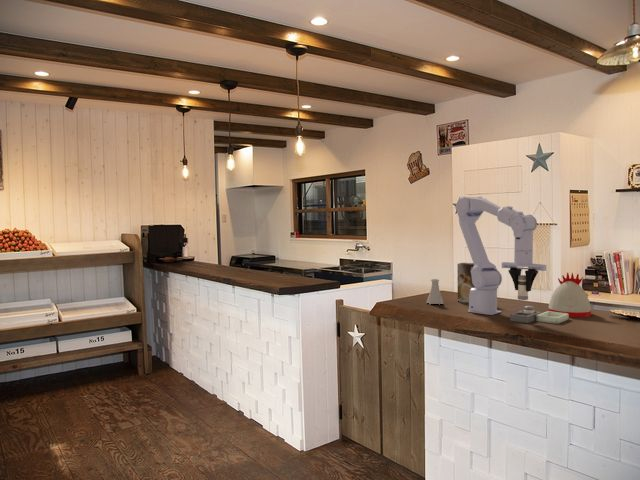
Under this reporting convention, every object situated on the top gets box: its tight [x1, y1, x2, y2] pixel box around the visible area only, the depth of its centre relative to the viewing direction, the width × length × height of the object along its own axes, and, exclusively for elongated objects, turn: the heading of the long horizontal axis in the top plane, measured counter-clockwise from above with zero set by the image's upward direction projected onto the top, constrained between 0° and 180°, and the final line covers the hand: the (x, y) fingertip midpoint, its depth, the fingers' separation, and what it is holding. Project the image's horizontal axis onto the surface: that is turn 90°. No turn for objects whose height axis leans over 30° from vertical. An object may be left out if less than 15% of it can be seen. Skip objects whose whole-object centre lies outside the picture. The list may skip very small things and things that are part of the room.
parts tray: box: [535, 310, 570, 325], centre depth 169 cm, size 7×10×2 cm
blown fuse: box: [517, 274, 529, 301], centre depth 169 cm, size 3×3×8 cm
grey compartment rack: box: [509, 305, 542, 324], centre depth 171 cm, size 6×11×4 cm, turn 134°
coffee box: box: [456, 262, 475, 304], centre depth 206 cm, size 9×6×16 cm
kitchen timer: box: [547, 272, 592, 318], centre depth 181 cm, size 14×14×15 cm
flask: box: [425, 278, 445, 306], centre depth 203 cm, size 7×7×10 cm
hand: (522, 290), depth 169 cm, fingers closed on blown fuse, 3 cm apart
